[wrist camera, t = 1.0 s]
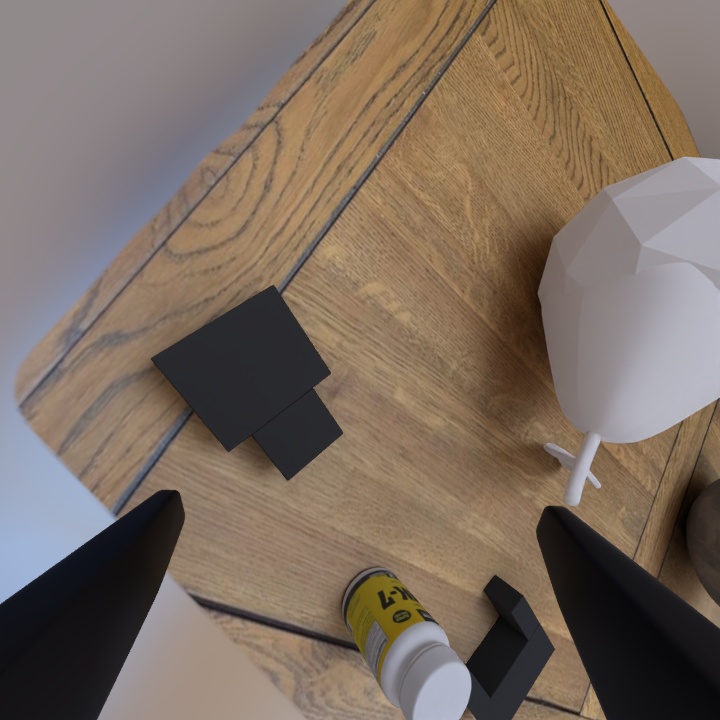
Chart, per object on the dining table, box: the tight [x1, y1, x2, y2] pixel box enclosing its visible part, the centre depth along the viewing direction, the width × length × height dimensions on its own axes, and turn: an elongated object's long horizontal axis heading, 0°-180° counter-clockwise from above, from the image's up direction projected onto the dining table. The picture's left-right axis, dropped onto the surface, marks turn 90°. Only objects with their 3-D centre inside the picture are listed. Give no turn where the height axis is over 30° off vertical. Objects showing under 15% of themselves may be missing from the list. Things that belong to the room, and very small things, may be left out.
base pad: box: [464, 575, 555, 720], centre depth 30 cm, size 9×8×3 cm
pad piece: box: [151, 285, 343, 480], centre depth 20 cm, size 7×10×3 cm
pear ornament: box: [538, 157, 720, 506], centre depth 28 cm, size 16×22×28 cm
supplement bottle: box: [342, 567, 471, 720], centre depth 22 cm, size 5×5×8 cm
